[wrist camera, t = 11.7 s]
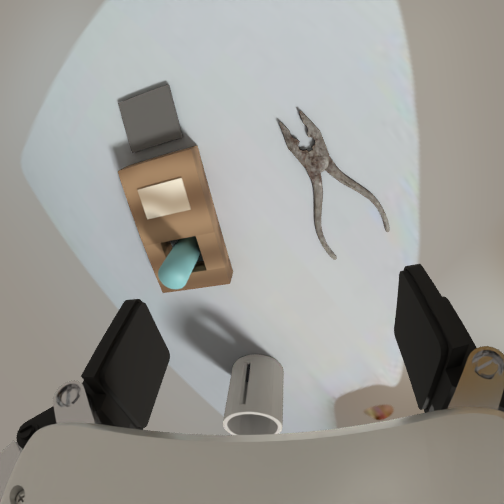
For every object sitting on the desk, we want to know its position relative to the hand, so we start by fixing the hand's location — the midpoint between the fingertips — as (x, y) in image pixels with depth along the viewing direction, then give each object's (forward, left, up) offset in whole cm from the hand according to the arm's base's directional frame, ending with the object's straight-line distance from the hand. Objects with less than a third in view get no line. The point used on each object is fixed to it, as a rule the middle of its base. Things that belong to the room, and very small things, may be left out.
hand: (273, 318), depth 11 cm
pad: (-9, -14, -29) cm, 33 cm away
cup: (+35, -10, -29) cm, 47 cm away
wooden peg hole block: (+5, -14, -29) cm, 33 cm away
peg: (+9, -14, -29) cm, 33 cm away
